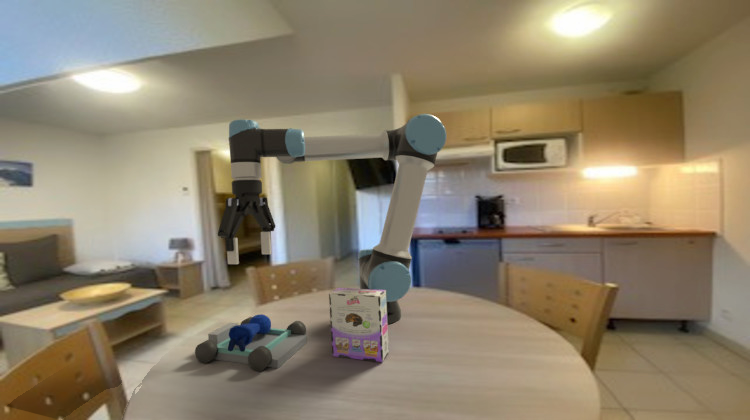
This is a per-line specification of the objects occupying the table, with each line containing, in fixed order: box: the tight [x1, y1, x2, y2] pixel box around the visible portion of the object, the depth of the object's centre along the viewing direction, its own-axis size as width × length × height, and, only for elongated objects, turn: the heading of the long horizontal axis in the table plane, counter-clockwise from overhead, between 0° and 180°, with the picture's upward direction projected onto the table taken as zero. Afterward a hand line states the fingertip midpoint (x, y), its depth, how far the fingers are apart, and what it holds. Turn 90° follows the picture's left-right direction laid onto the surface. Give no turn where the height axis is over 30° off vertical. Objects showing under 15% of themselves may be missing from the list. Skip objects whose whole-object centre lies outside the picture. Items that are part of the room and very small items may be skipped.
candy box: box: [328, 287, 390, 363], centre depth 83 cm, size 14×6×16 cm, turn 71°
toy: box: [228, 313, 272, 352], centre depth 87 cm, size 7×6×15 cm
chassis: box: [194, 316, 308, 372], centre depth 88 cm, size 24×19×5 cm
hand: (251, 258), depth 87 cm, fingers open, 13 cm apart
